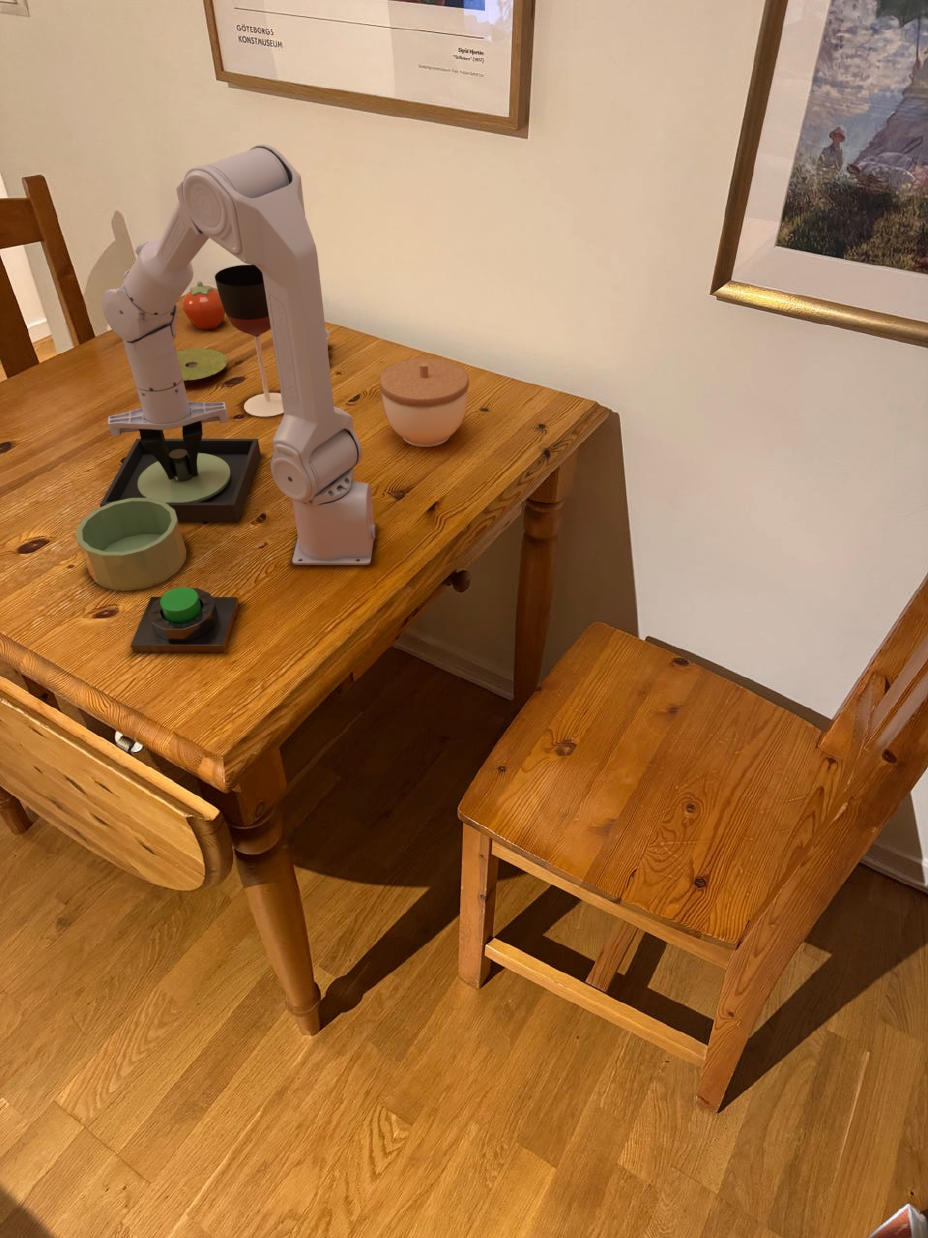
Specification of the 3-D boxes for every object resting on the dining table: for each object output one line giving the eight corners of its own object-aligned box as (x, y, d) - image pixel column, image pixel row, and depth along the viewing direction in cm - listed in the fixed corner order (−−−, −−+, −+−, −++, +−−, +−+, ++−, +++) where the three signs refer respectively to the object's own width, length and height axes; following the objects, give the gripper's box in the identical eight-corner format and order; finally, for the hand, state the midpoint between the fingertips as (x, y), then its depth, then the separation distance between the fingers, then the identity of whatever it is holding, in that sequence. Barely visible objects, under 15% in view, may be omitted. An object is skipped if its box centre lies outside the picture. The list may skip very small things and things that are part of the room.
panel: (239, 604, 99) (234, 584, 97) (224, 653, 94) (219, 633, 92) (153, 604, 100) (146, 584, 98) (133, 653, 94) (125, 633, 92)
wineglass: (286, 419, 131) (264, 288, 117) (232, 414, 132) (205, 283, 118) (303, 394, 136) (285, 266, 123) (251, 389, 138) (228, 262, 124)
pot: (196, 533, 110) (186, 497, 106) (173, 591, 101) (162, 555, 98) (107, 532, 110) (94, 497, 106) (76, 591, 101) (62, 555, 98)
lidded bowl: (367, 443, 125) (360, 373, 118) (411, 406, 134) (407, 337, 126) (443, 465, 121) (441, 393, 113) (483, 425, 129) (484, 355, 122)
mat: (238, 360, 145) (236, 350, 144) (215, 392, 137) (212, 381, 136) (174, 356, 146) (172, 346, 145) (148, 388, 138) (144, 377, 137)
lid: (239, 459, 121) (233, 429, 118) (221, 509, 112) (213, 479, 109) (153, 459, 121) (145, 429, 118) (128, 509, 112) (118, 479, 109)
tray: (261, 455, 123) (257, 438, 121) (238, 522, 111) (234, 504, 109) (141, 455, 123) (136, 438, 121) (105, 522, 111) (99, 504, 109)
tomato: (217, 313, 159) (208, 269, 154) (237, 326, 155) (228, 281, 150) (180, 324, 156) (169, 280, 151) (199, 337, 152) (189, 292, 146)
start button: (204, 598, 96) (201, 586, 95) (196, 623, 93) (192, 611, 92) (169, 598, 96) (165, 586, 95) (159, 622, 93) (155, 610, 92)
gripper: (217, 359, 111) (236, 451, 120) (99, 372, 108) (128, 465, 117) (219, 384, 106) (239, 478, 115) (96, 399, 103) (126, 494, 112)
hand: (183, 473), depth 116 cm, fingers closed on lid, 2 cm apart
